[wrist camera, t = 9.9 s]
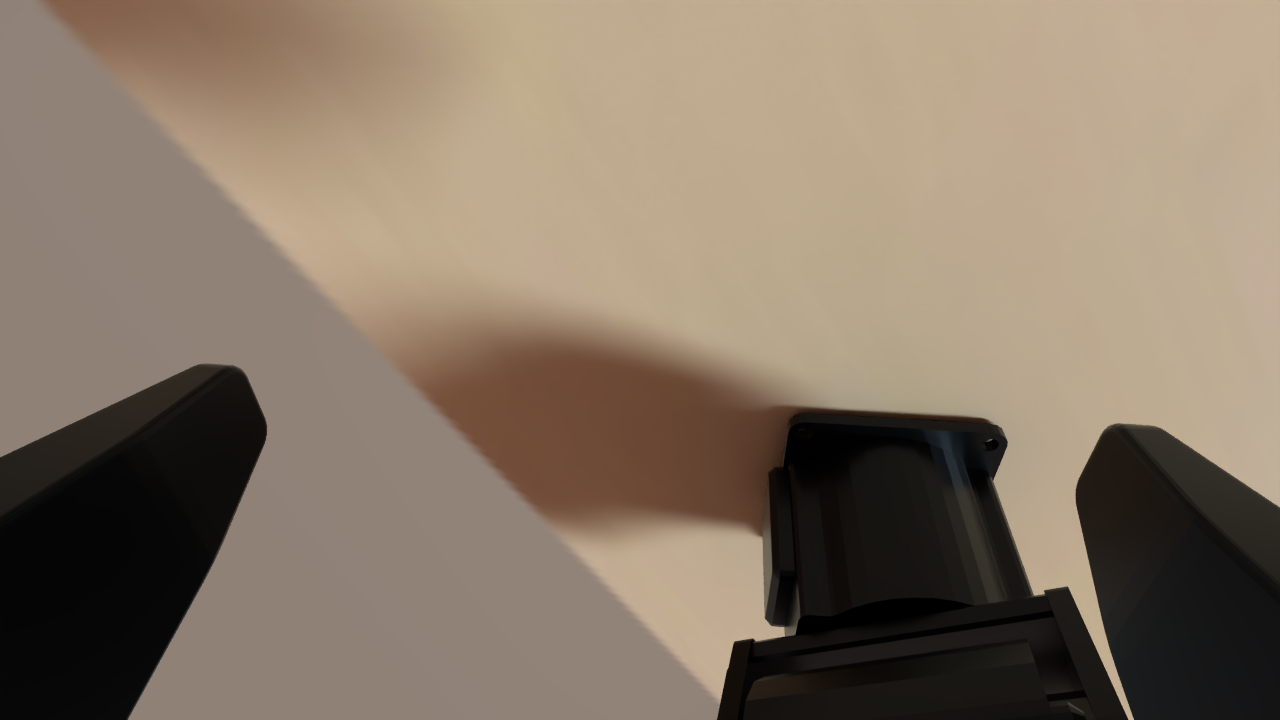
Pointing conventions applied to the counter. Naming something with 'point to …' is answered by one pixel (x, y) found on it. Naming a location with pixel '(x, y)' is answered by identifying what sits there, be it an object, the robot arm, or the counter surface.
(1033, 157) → the counter surface
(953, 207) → the counter surface
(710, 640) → the counter surface
